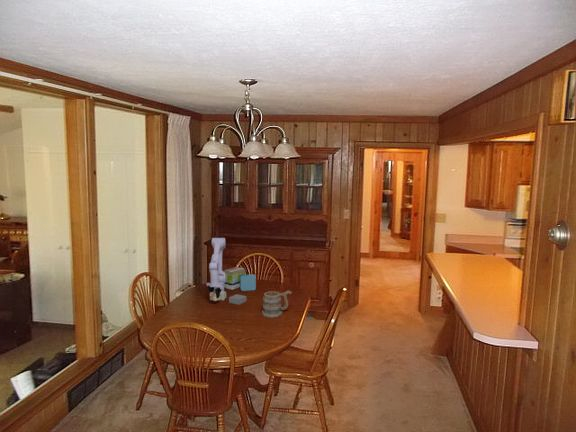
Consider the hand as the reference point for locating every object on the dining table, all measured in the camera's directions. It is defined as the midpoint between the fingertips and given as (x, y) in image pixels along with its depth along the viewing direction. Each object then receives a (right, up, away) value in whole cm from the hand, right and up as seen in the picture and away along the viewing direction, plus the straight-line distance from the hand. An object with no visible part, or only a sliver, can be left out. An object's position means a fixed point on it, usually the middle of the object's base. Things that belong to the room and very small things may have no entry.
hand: (214, 297), depth 295 cm
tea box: (+9, 0, +41) cm, 42 cm away
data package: (+20, -1, +34) cm, 39 cm away
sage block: (+3, -4, +12) cm, 13 cm away
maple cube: (0, -2, 0) cm, 2 cm away
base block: (+16, -5, +6) cm, 17 cm away
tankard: (+45, -8, -17) cm, 49 cm away
